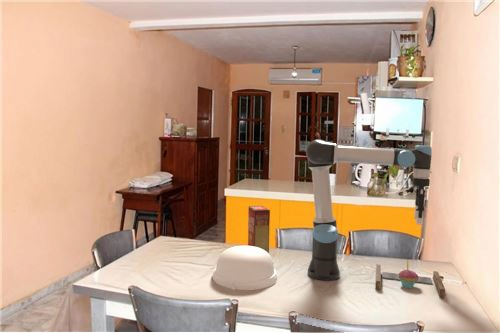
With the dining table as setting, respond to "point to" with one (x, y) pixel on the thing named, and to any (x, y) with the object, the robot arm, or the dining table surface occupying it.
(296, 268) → the dining table surface
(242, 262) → the dome cover
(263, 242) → the food packaging
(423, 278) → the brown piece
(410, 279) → the cupcake
